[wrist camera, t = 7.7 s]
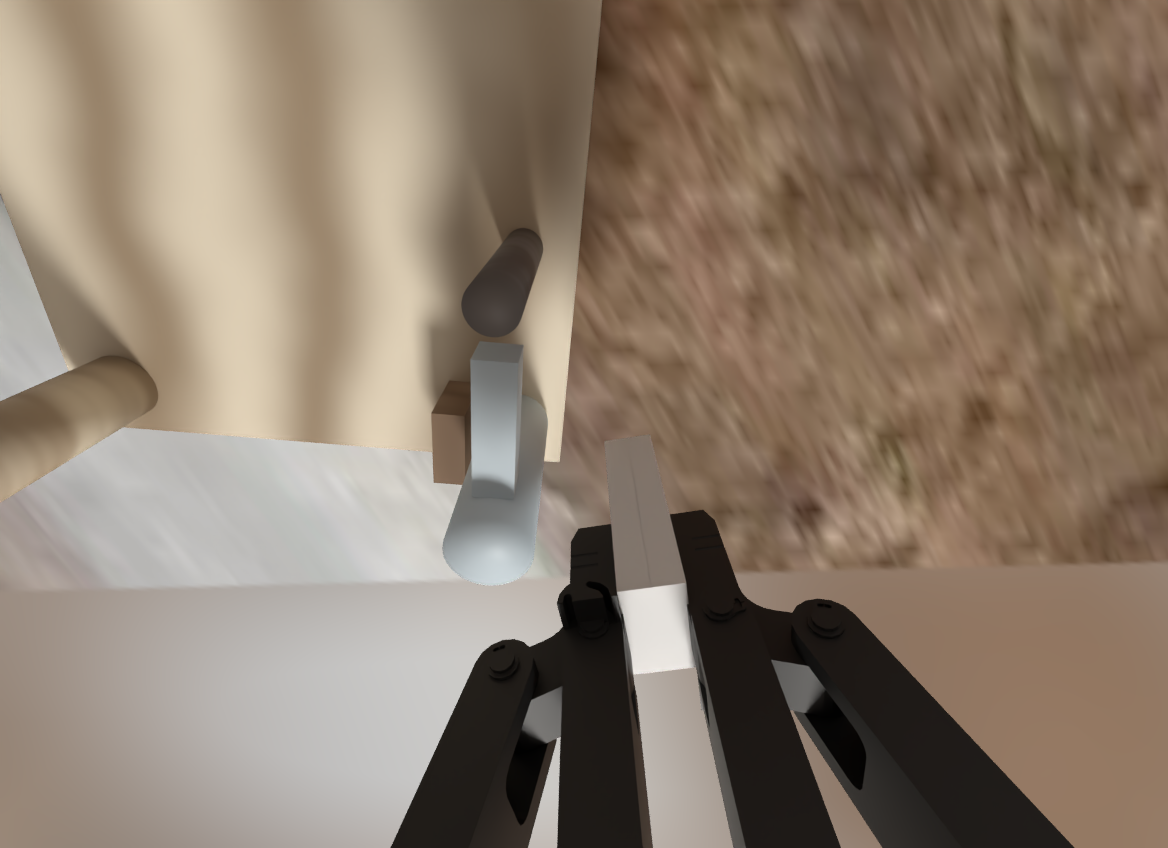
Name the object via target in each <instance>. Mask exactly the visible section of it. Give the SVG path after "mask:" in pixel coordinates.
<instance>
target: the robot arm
mask: <svg viewBox="0 0 1168 848" xmlns="http://www.w3.org/2000/svg"><path fill="white" fill-rule="evenodd" d="M604 442H605V455H606V467H607V479H608V491H609V503H610V515H611V524H608V525H601V526H594V527H587V528H580V529H578V531H577V532H576V534H575V536H574V538H573V539H572V541H571V570H570V584H569V585H568V586H566V587H565V588H564V590H563V591H562V592H561V593H560V595H559V598H558V601H557V606H558V610H559V613H560V617H561V621H562V624H563V627H562V628H561V630H560V631H559V632H557V633H556V634H555V635H554V636H552V637H551V638H549V639H547V640H545V641H543V642H540V643H538V644H536V645H534V646H531V647H529V646H527V645H526V644H525V643H524V642H522V641H518V640H515V639H512V640H502V641H500V642H498V643H495V644H493V645H491V646H490V647H489V648H487V649H486V650H485V651H484V652H483V653H482V654H481V655H480V657H479V658H478V660H477V661H476V663H475V665H474V667H473V669H472V672H471V674H470V676H469V678H468V680H467V683H466V685H465V687H464V689H463V691H462V693H461V695H460V698H459V700H458V702H457V704H456V706H455V709H454V711H453V713H452V715H451V717H450V720H449V722H448V724H447V726H446V729H445V730H444V733H443V735H442V737H441V739H440V741H439V743H438V746H437V748H436V750H435V752H434V755H433V757H432V759H431V761H430V763H429V765H428V767H427V770H426V772H425V774H424V776H423V778H422V781H421V783H420V785H419V787H418V789H417V792H416V794H415V796H414V798H413V800H412V802H411V805H410V807H409V809H408V811H407V813H406V815H405V818H404V820H403V822H402V824H401V826H400V829H399V831H398V833H397V835H396V837H395V840H394V842H393V844H392V846H391V848H528V845H529V841H530V838H531V834H532V830H533V826H534V823H535V819H536V815H537V812H538V808H539V804H540V800H541V797H542V793H543V789H544V786H545V782H546V778H547V774H548V770H549V767H550V763H551V760H552V756H553V752H554V748H555V745H556V739H557V738H558V737H561V745H560V776H559V809H558V843H557V844H558V845H557V848H653V845H652V836H651V826H650V816H649V807H648V797H647V790H646V789H647V788H646V779H645V769H644V760H643V751H642V741H641V732H640V722H639V713H638V703H637V695H636V690H635V685H634V678H633V675H635V674H643V673H651V672H659V671H668V670H676V669H684V668H693V667H696V669H697V674H698V683H699V692H700V701H701V710H704V714H705V718H706V723H707V728H708V732H709V737H710V741H711V746H712V750H713V755H714V760H715V764H716V769H717V774H718V778H719V783H720V787H721V792H722V797H723V801H724V806H725V811H726V815H727V820H728V824H729V829H730V834H731V838H732V842H733V847H734V848H841V847H840V844H839V841H838V839H837V836H836V833H835V831H834V828H833V825H832V823H831V820H830V817H829V815H828V812H827V809H826V806H825V804H824V801H823V798H822V795H821V793H820V790H819V788H818V785H817V782H816V780H815V777H814V774H813V771H812V769H811V766H810V763H809V760H808V758H807V755H806V753H805V750H804V747H803V744H802V742H801V739H800V736H799V733H798V731H797V728H796V725H795V723H794V720H793V717H792V715H791V712H790V710H793V711H794V713H795V715H796V716H797V718H798V720H799V721H800V723H801V724H802V726H803V727H804V729H805V730H806V732H807V733H808V735H809V736H810V738H811V739H812V741H813V742H814V744H815V745H816V747H817V749H818V750H819V751H820V753H821V755H822V756H823V758H824V759H825V761H826V762H827V764H828V765H829V767H830V768H831V770H832V771H833V773H834V774H835V776H836V777H837V779H838V781H839V782H840V784H841V785H842V787H843V788H844V790H845V791H846V793H847V794H848V796H849V797H850V799H851V800H852V802H853V803H854V805H855V806H856V808H857V810H858V811H859V812H860V814H861V815H862V817H863V819H864V820H865V822H866V823H867V825H868V826H869V828H870V829H871V831H872V832H873V834H874V835H875V837H876V838H877V840H878V842H879V843H880V845H881V846H882V848H1074V847H1073V846H1072V845H1071V844H1070V843H1069V841H1067V839H1066V838H1065V837H1064V836H1063V835H1062V834H1061V833H1060V832H1059V831H1058V830H1057V829H1056V828H1055V827H1054V825H1053V824H1052V823H1051V822H1050V821H1049V820H1048V819H1047V818H1046V817H1045V816H1044V815H1043V814H1042V813H1041V812H1040V811H1039V810H1038V809H1037V807H1036V806H1035V805H1034V804H1033V803H1032V802H1031V801H1030V800H1029V799H1028V798H1027V797H1026V796H1025V795H1024V794H1023V793H1022V792H1021V791H1020V789H1018V787H1017V786H1016V785H1015V784H1014V783H1013V782H1012V781H1011V780H1010V779H1009V778H1008V777H1007V776H1006V774H1005V773H1004V772H1003V771H1002V770H1001V769H1000V768H999V767H998V766H997V765H996V764H995V763H994V762H993V761H992V760H991V759H990V758H989V756H988V755H987V754H986V753H985V752H984V751H983V750H982V749H981V748H980V747H979V746H978V745H977V744H976V743H975V742H974V741H973V739H972V738H971V737H970V736H969V735H968V734H967V733H966V732H965V731H964V730H963V729H962V728H961V727H960V726H959V725H958V724H957V722H956V721H955V720H954V719H953V718H952V717H951V716H950V715H949V714H948V713H947V712H946V711H945V710H944V709H943V708H942V707H941V706H940V704H939V703H938V702H937V701H936V700H935V699H934V698H933V697H932V696H931V695H930V694H929V693H928V692H927V691H926V690H925V688H924V687H923V686H922V685H921V684H920V683H919V682H918V681H917V680H916V679H915V678H914V677H913V676H912V675H911V674H910V673H909V671H908V670H907V669H906V668H905V667H904V666H903V665H902V664H901V663H900V662H899V661H898V660H897V659H896V658H895V657H894V656H893V655H892V653H891V652H890V651H889V650H888V649H887V648H886V647H885V646H884V645H883V644H882V643H881V642H880V641H879V640H878V639H877V638H876V636H875V635H874V634H873V633H872V632H871V631H870V630H869V629H868V628H867V627H866V626H865V625H864V624H863V623H862V622H861V621H860V619H859V618H858V617H857V616H856V615H855V614H854V613H853V612H851V611H850V610H849V609H847V608H846V607H845V606H843V605H841V604H839V603H836V602H833V601H831V600H824V599H814V600H807V601H804V602H803V603H801V604H799V605H797V606H796V608H795V610H794V611H793V613H790V612H782V611H775V610H771V609H766V608H763V607H761V606H758V605H756V604H754V603H753V602H751V601H750V600H748V599H747V598H746V597H745V596H744V595H743V593H742V592H741V590H740V588H739V586H738V583H737V581H736V578H735V575H734V572H733V569H732V567H731V564H730V561H729V558H728V556H727V553H726V550H725V548H724V545H723V542H722V539H721V537H720V534H719V531H718V528H717V525H716V523H715V520H714V519H713V518H711V517H710V516H709V515H708V514H707V513H706V512H705V511H704V510H699V511H692V512H685V513H678V514H669V510H668V506H667V502H666V498H665V494H664V489H663V485H662V481H661V477H660V473H659V469H658V465H657V461H656V457H655V453H654V449H653V444H652V440H651V436H650V434H649V435H643V436H636V437H630V438H623V439H617V440H610V441H604Z"/></svg>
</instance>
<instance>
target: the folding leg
mask: <svg viewBox="0 0 1168 848" xmlns="http://www.w3.org/2000/svg"><path fill="white" fill-rule="evenodd" d="M523 348H524V345H519V344H507V343H495V342H483V341H480V342H479V344H478V346H477V348H476V350H475V351H474V353H473V355H472V357H471V359H470V368H471V457H472V459H471V462H470V464H469V467H468V470H467V473H466V476H465V479H464V482H463V485H462V488H461V491H460V494H459V497H458V500H457V503H456V505H455V508H454V511H453V514H452V517H451V520H450V523H449V526H448V529H447V532H446V535H445V538H444V541H443V555H444V558H445V560H446V562H447V564H448V565H449V567H450V568H451V569H452V570H453V571H454V572H455V573H456V574H458V575H459V576H460V577H462V578H464V579H466V580H468V581H470V582H473V583H477V584H482V585H502V584H507V583H510V582H512V581H515V580H517V579H518V578H520V577H521V576H523V575H524V574H525V573H526V572H527V571H528V569H529V568H530V566H531V564H532V562H533V558H534V550H535V541H536V531H537V522H538V513H539V504H540V494H541V485H542V476H543V466H544V457H545V448H546V439H547V429H548V418H547V414H546V412H545V410H544V408H543V407H542V406H541V405H540V404H539V403H538V402H537V401H536V400H534V399H533V398H531V397H529V396H526V395H522V374H523Z"/></svg>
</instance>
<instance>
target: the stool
mask: <svg viewBox="0 0 1168 848" xmlns="http://www.w3.org/2000/svg"><path fill="white" fill-rule="evenodd" d="M601 8H602V0H0V193H1V196H2V199H3V201H4V204H5V206H6V209H7V212H8V214H9V217H10V219H11V222H12V225H13V227H14V230H15V232H16V235H17V238H18V240H19V243H20V245H21V248H22V251H23V253H24V256H25V258H26V261H27V264H28V266H29V269H30V271H31V274H32V277H33V279H34V282H35V284H36V287H37V290H38V292H39V295H40V297H41V300H42V303H43V305H44V308H45V310H46V313H47V316H48V318H49V321H50V323H51V326H52V329H53V331H54V334H55V337H56V339H57V342H58V344H59V347H60V350H61V352H62V355H63V357H64V360H65V363H66V365H67V368H68V370H69V371H68V372H66V373H64V374H61V375H59V376H57V377H55V378H52V379H50V380H48V381H45V382H43V383H41V384H39V385H36V386H34V387H32V388H30V389H27V390H25V391H23V392H20V393H18V394H16V395H14V396H11V397H9V398H7V399H5V400H2V401H0V502H2V501H4V500H5V499H7V498H9V497H10V496H12V495H13V494H15V493H17V492H18V491H20V490H22V489H23V488H25V487H27V486H28V485H30V484H31V483H33V482H35V481H36V480H38V479H40V478H41V477H43V476H44V475H46V474H48V473H49V472H51V471H53V470H54V469H56V468H57V467H59V466H61V465H62V464H64V463H66V462H67V461H69V460H70V459H72V458H74V457H75V456H77V455H79V454H80V453H82V452H83V451H85V450H87V449H88V448H90V447H92V446H93V445H95V444H96V443H98V442H100V441H101V440H103V439H105V438H106V437H108V436H109V435H111V434H113V433H114V432H116V431H118V430H119V429H121V428H122V427H127V428H139V429H152V430H164V431H177V432H189V433H202V434H214V435H227V436H239V437H252V438H264V439H277V440H289V441H302V442H314V443H327V444H339V445H352V446H364V447H377V448H389V449H402V450H414V451H427V452H433V475H434V483H446V484H459V485H463V482H464V479H465V476H466V473H467V470H468V467H469V464H470V462H471V459H472V457H471V368H470V359H471V357H472V355H473V353H474V351H475V350H476V348H477V346H478V344H479V342H480V341H483V342H495V343H507V344H519V345H524V348H523V374H522V395H526V396H529V397H531V398H533V399H534V400H536V401H537V402H538V403H539V404H540V405H541V406H542V407H543V408H544V410H545V412H546V414H547V418H548V429H547V439H546V448H545V457H544V461H552V462H559V461H560V450H561V439H562V428H563V418H564V407H565V396H566V385H567V375H568V364H569V353H570V342H571V331H572V321H573V310H574V299H575V288H576V278H577V267H578V256H579V245H580V234H581V224H582V213H583V202H584V191H585V181H586V170H587V159H588V148H589V137H590V127H591V116H592V105H593V94H594V84H595V73H596V62H597V51H598V40H599V30H600V19H601Z"/></svg>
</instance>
